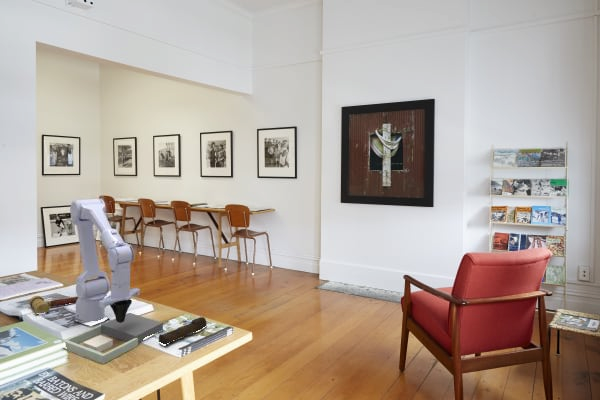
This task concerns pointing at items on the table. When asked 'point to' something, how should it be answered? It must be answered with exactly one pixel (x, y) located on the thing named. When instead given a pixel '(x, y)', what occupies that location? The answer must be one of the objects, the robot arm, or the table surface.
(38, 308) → the gavel
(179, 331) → the dark brown rounded bar
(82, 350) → the box
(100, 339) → the tile
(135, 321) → the charcoal board
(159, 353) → the table surface
